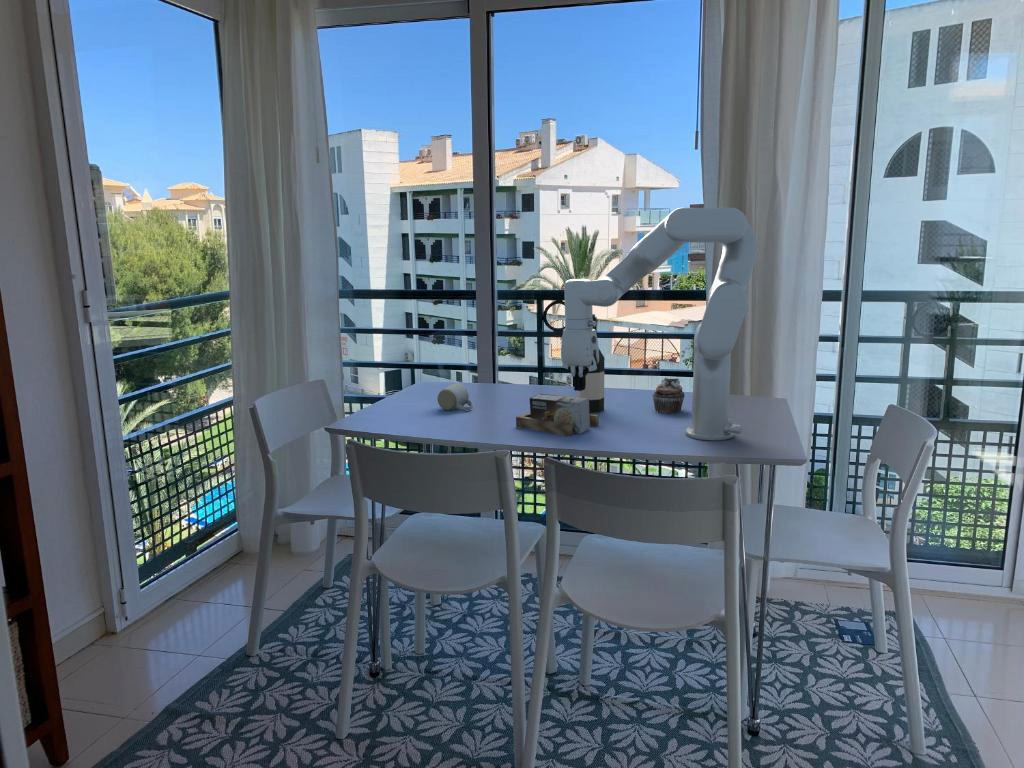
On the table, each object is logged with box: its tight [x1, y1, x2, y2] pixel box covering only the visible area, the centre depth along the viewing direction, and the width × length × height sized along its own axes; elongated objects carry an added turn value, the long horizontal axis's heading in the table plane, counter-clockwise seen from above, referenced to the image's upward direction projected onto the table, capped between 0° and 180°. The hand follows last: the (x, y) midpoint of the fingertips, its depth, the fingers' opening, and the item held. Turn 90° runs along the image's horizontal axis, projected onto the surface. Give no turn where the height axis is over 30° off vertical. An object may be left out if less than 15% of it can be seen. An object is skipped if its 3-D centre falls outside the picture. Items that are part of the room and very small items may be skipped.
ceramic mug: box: [437, 382, 474, 411], centre depth 236 cm, size 11×8×8 cm
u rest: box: [515, 412, 600, 437], centre depth 214 cm, size 18×15×3 cm
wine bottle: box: [576, 313, 605, 414], centre depth 230 cm, size 8×8×30 cm
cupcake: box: [652, 377, 685, 414], centre depth 229 cm, size 10×10×10 cm
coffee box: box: [529, 393, 591, 435], centre depth 211 cm, size 9×6×16 cm
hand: (579, 389), depth 207 cm, fingers closed
